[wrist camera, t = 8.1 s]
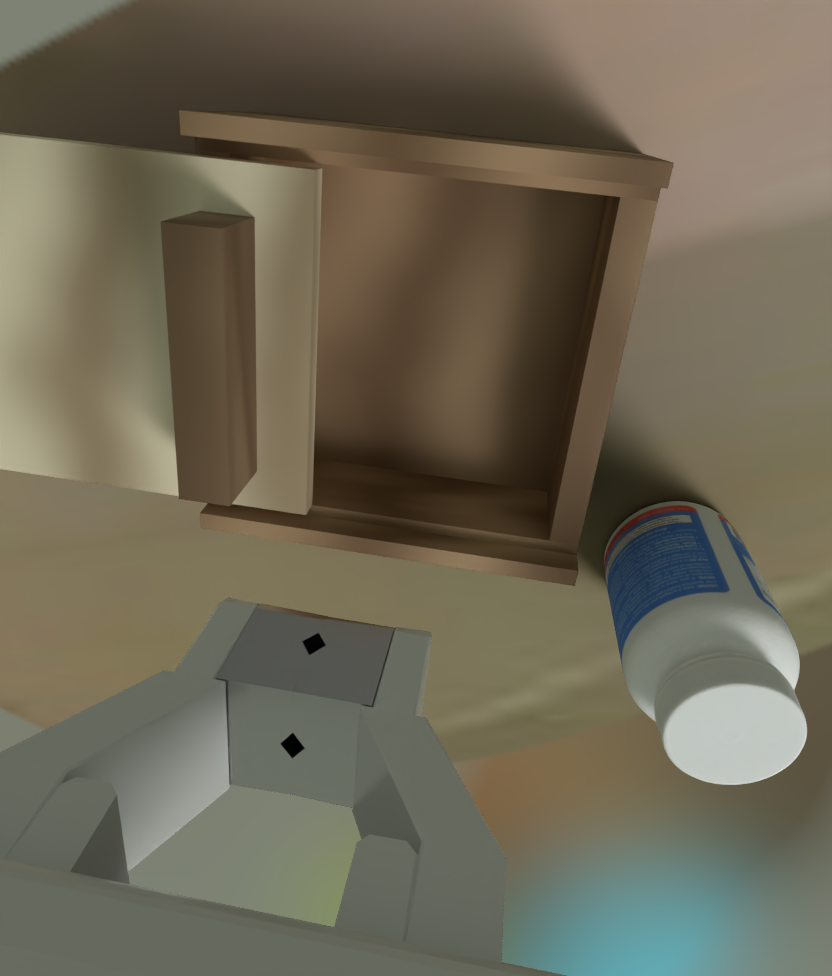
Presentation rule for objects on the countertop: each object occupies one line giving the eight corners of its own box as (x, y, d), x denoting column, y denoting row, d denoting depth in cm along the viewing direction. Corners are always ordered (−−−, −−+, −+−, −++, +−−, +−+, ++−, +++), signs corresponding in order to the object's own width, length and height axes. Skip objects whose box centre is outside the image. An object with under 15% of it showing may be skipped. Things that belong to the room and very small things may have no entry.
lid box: (643, 153, 23) (673, 162, 18) (567, 508, 29) (574, 585, 24) (248, 112, 24) (178, 110, 19) (253, 462, 30) (200, 528, 25)
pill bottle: (582, 588, 31) (603, 770, 22) (633, 480, 28) (678, 637, 20) (706, 626, 31) (774, 822, 22) (768, 521, 28) (872, 697, 20)
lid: (322, 168, 20) (287, 176, 18) (312, 504, 25) (284, 554, 23) (-108, 120, 22) (-209, 119, 19) (-37, 451, 26) (-107, 493, 24)
